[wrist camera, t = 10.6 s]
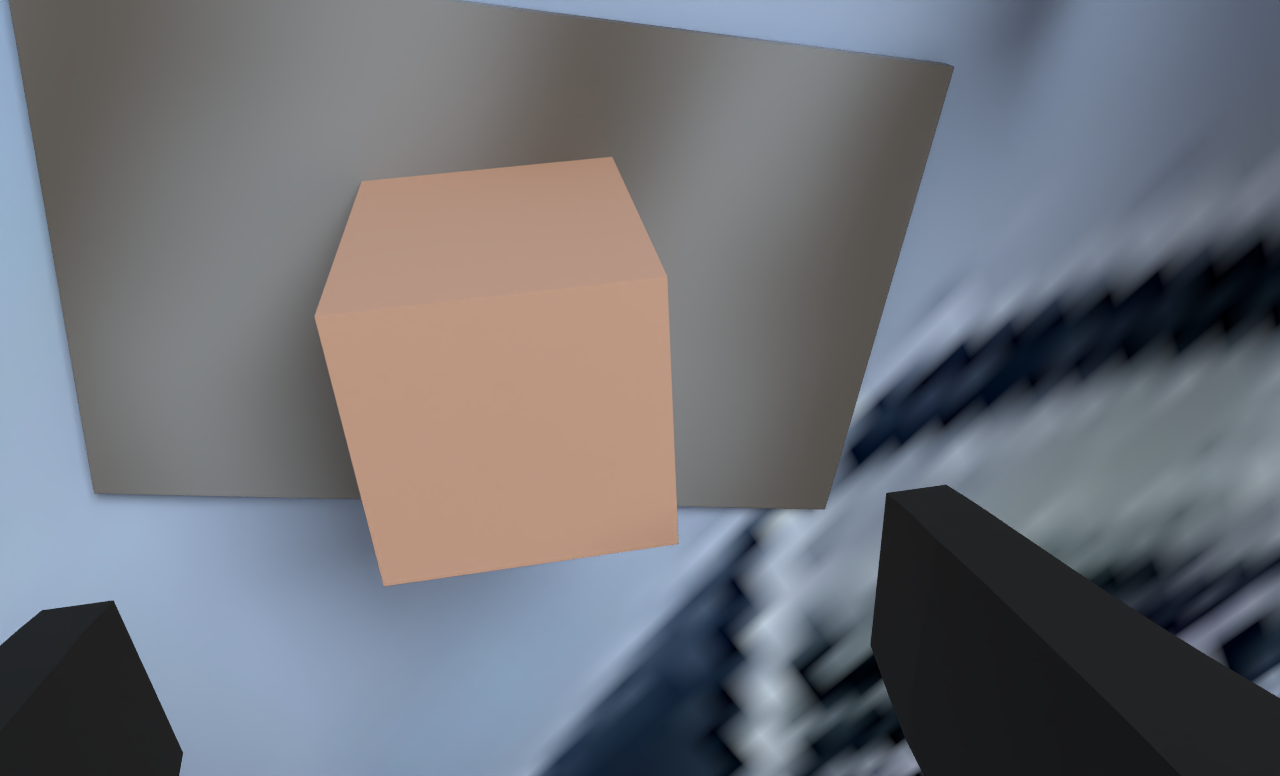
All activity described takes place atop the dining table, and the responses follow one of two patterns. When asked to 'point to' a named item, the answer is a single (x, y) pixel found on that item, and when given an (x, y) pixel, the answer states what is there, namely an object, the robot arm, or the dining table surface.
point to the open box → (443, 143)
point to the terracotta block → (502, 369)
